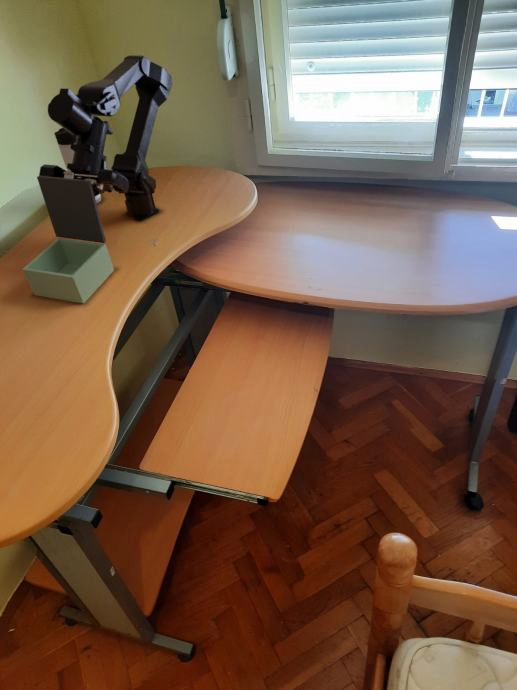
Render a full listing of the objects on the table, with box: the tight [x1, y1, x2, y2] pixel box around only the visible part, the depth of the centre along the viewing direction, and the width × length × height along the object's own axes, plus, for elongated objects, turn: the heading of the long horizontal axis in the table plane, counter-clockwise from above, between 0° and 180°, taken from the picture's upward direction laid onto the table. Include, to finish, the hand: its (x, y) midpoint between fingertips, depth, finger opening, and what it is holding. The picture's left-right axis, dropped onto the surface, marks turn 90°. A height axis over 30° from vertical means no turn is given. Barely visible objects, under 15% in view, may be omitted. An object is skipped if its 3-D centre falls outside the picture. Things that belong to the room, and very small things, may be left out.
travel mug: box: [54, 127, 102, 205], centre depth 123 cm, size 6×7×20 cm
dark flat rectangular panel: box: [36, 175, 107, 244], centre depth 97 cm, size 13×12×1 cm
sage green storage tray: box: [21, 237, 115, 305], centre depth 100 cm, size 12×12×7 cm
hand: (77, 217), depth 99 cm, fingers closed
